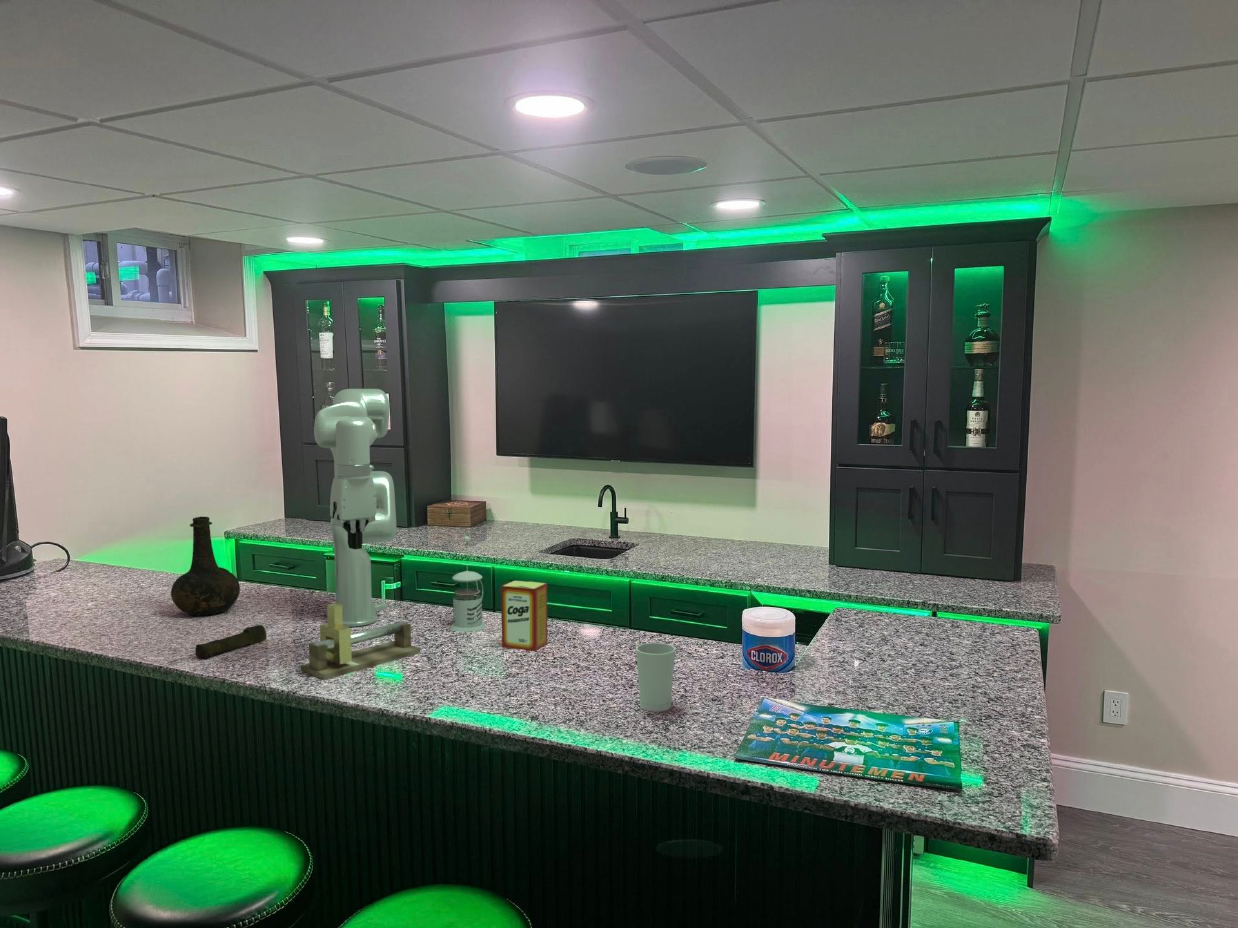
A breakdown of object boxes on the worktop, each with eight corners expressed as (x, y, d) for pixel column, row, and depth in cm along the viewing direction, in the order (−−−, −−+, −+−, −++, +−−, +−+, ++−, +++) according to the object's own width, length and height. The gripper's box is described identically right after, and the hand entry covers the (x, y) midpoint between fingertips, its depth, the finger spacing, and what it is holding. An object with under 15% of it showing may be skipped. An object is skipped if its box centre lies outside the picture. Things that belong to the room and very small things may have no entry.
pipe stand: (396, 645, 216) (395, 618, 215) (420, 652, 209) (419, 625, 209) (300, 670, 196) (299, 641, 195) (324, 679, 189) (323, 649, 189)
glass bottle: (253, 607, 254) (250, 514, 252) (206, 622, 237) (202, 523, 235) (206, 602, 260) (203, 511, 257) (157, 617, 243) (153, 519, 240)
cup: (634, 699, 177) (634, 643, 176) (671, 698, 178) (672, 642, 177) (638, 713, 169) (638, 654, 168) (677, 712, 170) (678, 653, 169)
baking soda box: (502, 646, 214) (501, 584, 213) (514, 640, 220) (513, 579, 219) (535, 651, 211) (535, 587, 209) (547, 643, 217) (547, 582, 216)
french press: (442, 629, 230) (441, 537, 228) (465, 618, 241) (464, 531, 239) (473, 633, 227) (472, 540, 225) (496, 622, 237) (495, 533, 235)
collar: (332, 654, 201) (331, 600, 200) (351, 661, 196) (350, 606, 194) (320, 657, 198) (319, 603, 197) (339, 664, 193) (338, 608, 192)
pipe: (400, 630, 212) (400, 619, 212) (407, 632, 210) (407, 621, 210) (312, 652, 194) (312, 640, 194) (319, 655, 192) (318, 643, 192)
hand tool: (204, 661, 203) (203, 642, 203) (194, 659, 205) (193, 640, 205) (273, 642, 219) (272, 624, 219) (263, 640, 221) (262, 622, 221)
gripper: (371, 468, 208) (373, 541, 210) (315, 472, 197) (318, 550, 199) (389, 470, 203) (391, 545, 205) (333, 475, 192) (335, 555, 194)
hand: (355, 548), depth 202 cm, fingers closed
